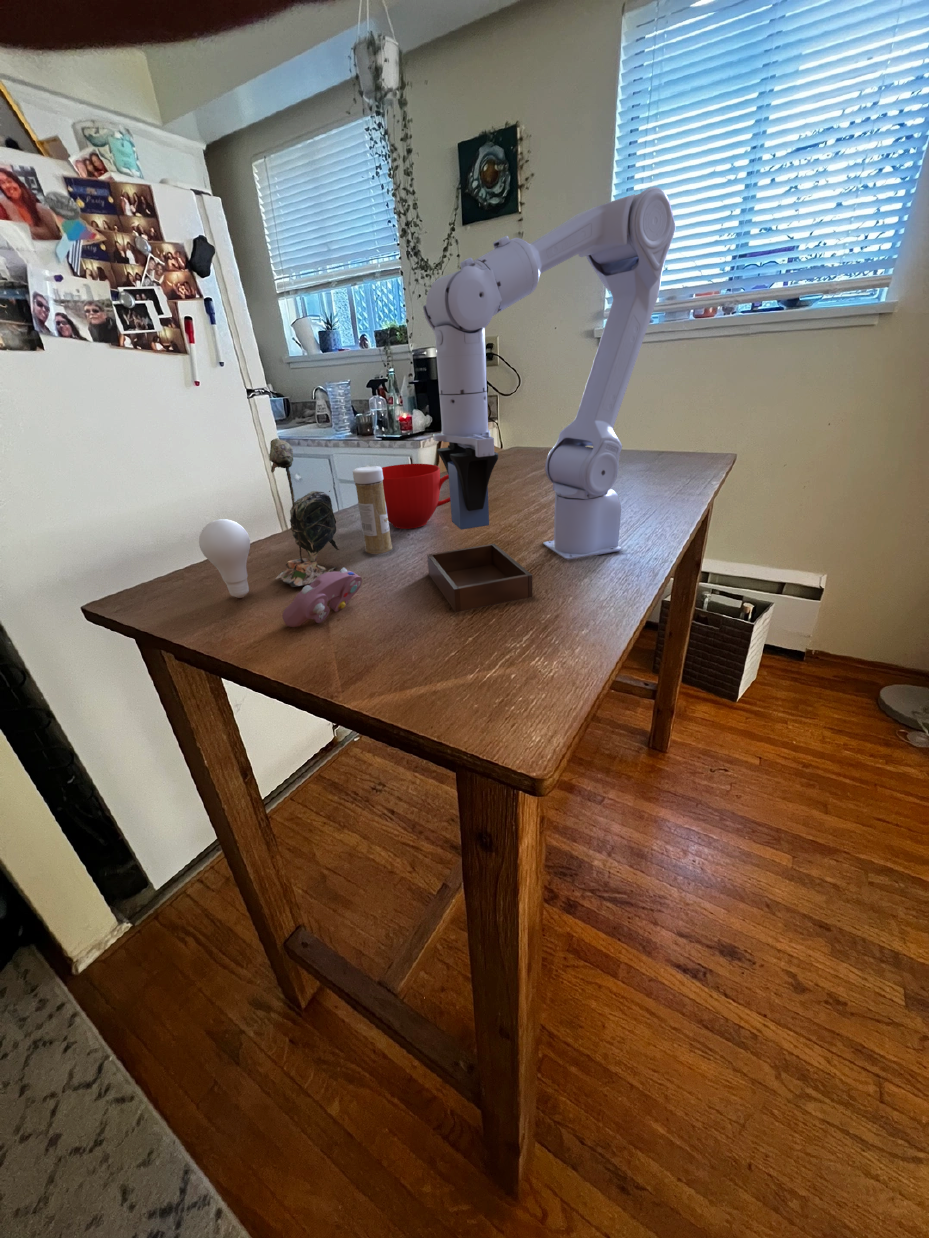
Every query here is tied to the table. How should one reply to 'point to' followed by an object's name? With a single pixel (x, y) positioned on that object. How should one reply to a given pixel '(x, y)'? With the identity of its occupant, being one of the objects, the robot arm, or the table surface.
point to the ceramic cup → (412, 493)
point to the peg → (458, 508)
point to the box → (479, 577)
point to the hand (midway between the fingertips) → (469, 505)
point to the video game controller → (322, 597)
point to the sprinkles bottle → (372, 509)
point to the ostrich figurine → (305, 523)
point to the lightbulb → (227, 553)
